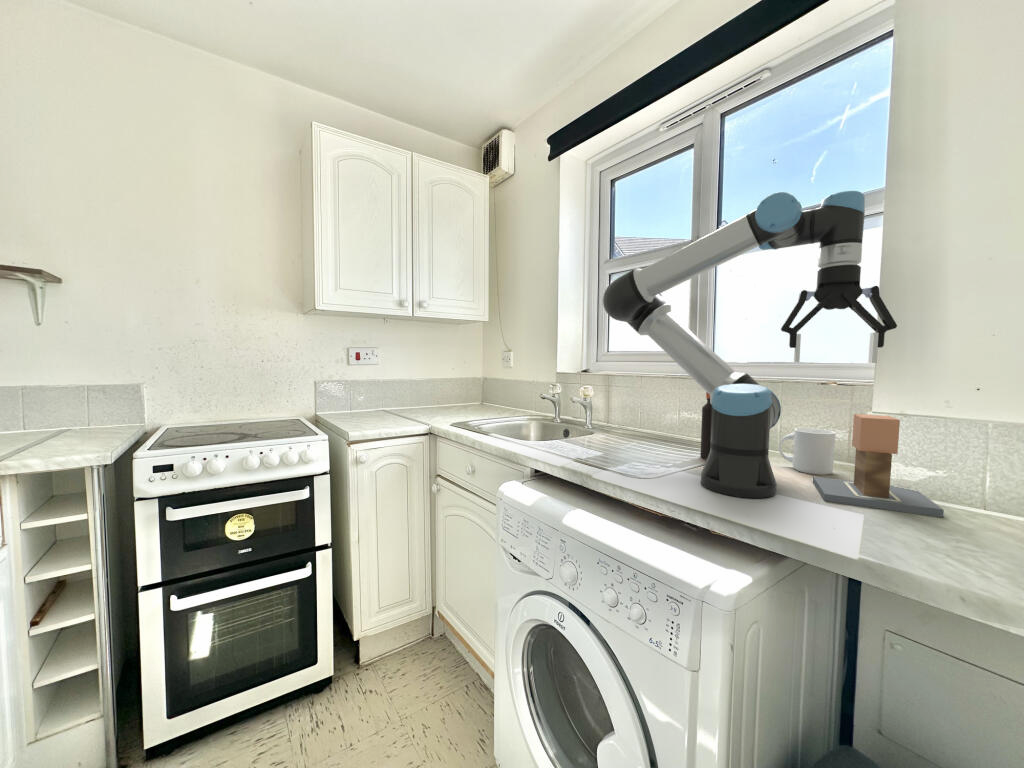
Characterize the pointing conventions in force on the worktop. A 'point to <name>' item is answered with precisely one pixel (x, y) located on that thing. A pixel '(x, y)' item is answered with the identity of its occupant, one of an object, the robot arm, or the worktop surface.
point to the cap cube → (876, 433)
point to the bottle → (706, 428)
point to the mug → (811, 450)
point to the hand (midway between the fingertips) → (833, 362)
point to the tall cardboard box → (873, 473)
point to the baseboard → (897, 497)
